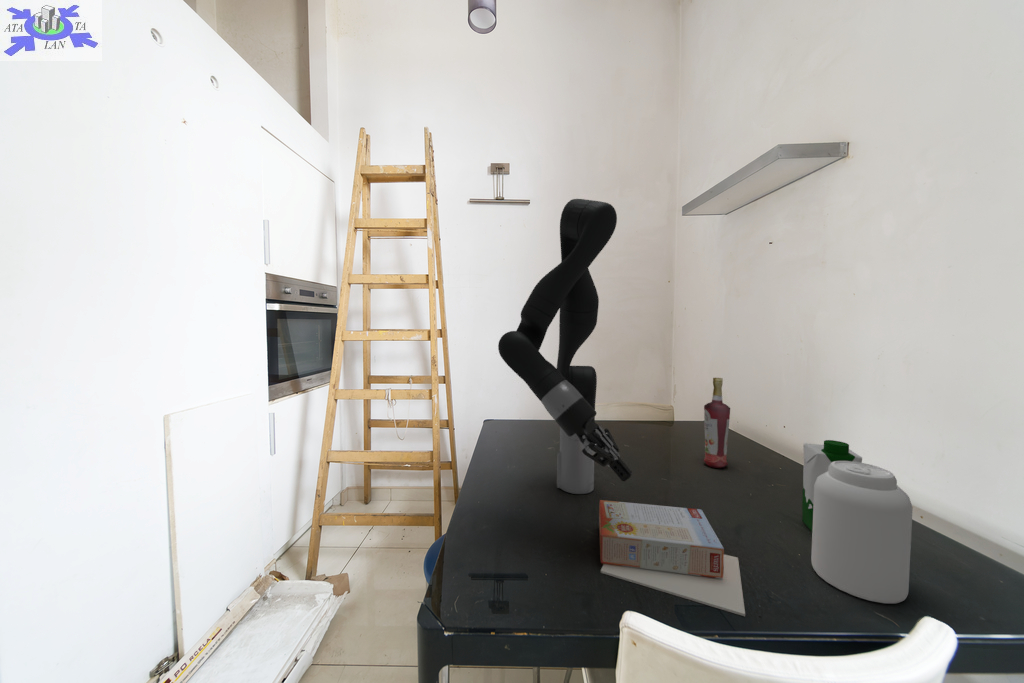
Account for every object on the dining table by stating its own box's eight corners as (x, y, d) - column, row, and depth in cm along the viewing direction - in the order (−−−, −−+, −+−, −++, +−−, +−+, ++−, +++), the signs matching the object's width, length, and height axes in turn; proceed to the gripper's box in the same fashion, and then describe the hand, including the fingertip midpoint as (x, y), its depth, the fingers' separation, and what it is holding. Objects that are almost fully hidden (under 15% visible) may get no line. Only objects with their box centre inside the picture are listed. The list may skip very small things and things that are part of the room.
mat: (600, 572, 68) (600, 570, 68) (619, 530, 82) (619, 528, 82) (745, 616, 58) (745, 614, 58) (737, 559, 72) (737, 557, 72)
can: (888, 616, 58) (895, 487, 57) (796, 570, 69) (800, 461, 68) (921, 591, 64) (927, 473, 63) (831, 551, 75) (835, 451, 74)
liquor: (733, 470, 118) (736, 379, 117) (709, 469, 118) (712, 379, 117) (720, 461, 125) (723, 376, 124) (698, 461, 125) (700, 376, 124)
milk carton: (812, 538, 80) (815, 443, 79) (795, 518, 88) (798, 432, 87) (864, 546, 77) (868, 448, 76) (842, 524, 85) (846, 436, 85)
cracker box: (599, 565, 70) (724, 581, 65) (599, 533, 70) (725, 547, 65) (599, 525, 84) (702, 536, 79) (599, 498, 83) (703, 507, 79)
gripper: (570, 401, 71) (637, 478, 66) (589, 391, 83) (648, 456, 78) (543, 426, 74) (606, 502, 68) (566, 412, 85) (621, 476, 80)
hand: (628, 477), depth 73 cm, fingers closed
